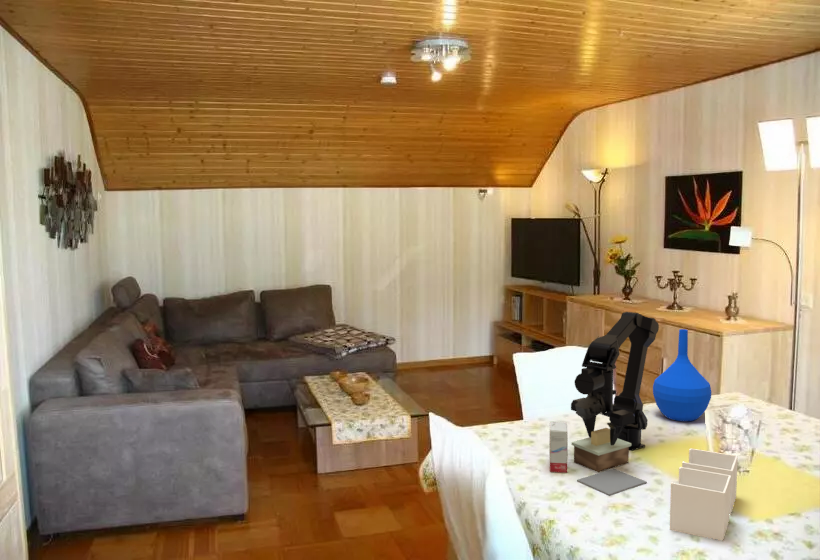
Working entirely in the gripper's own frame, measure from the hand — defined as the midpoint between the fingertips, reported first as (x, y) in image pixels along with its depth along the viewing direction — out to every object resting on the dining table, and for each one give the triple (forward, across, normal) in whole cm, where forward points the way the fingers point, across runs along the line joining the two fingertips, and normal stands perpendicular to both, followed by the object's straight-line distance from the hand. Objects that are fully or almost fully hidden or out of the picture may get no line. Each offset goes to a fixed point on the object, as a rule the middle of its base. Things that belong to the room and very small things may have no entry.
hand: (601, 441), depth 195 cm
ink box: (+6, -4, -12) cm, 14 cm away
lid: (+1, 0, 0) cm, 1 cm away
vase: (+7, -13, +53) cm, 55 cm away
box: (+6, 0, 0) cm, 6 cm away
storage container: (+7, +36, -4) cm, 36 cm away
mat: (+6, +11, -8) cm, 15 cm away
